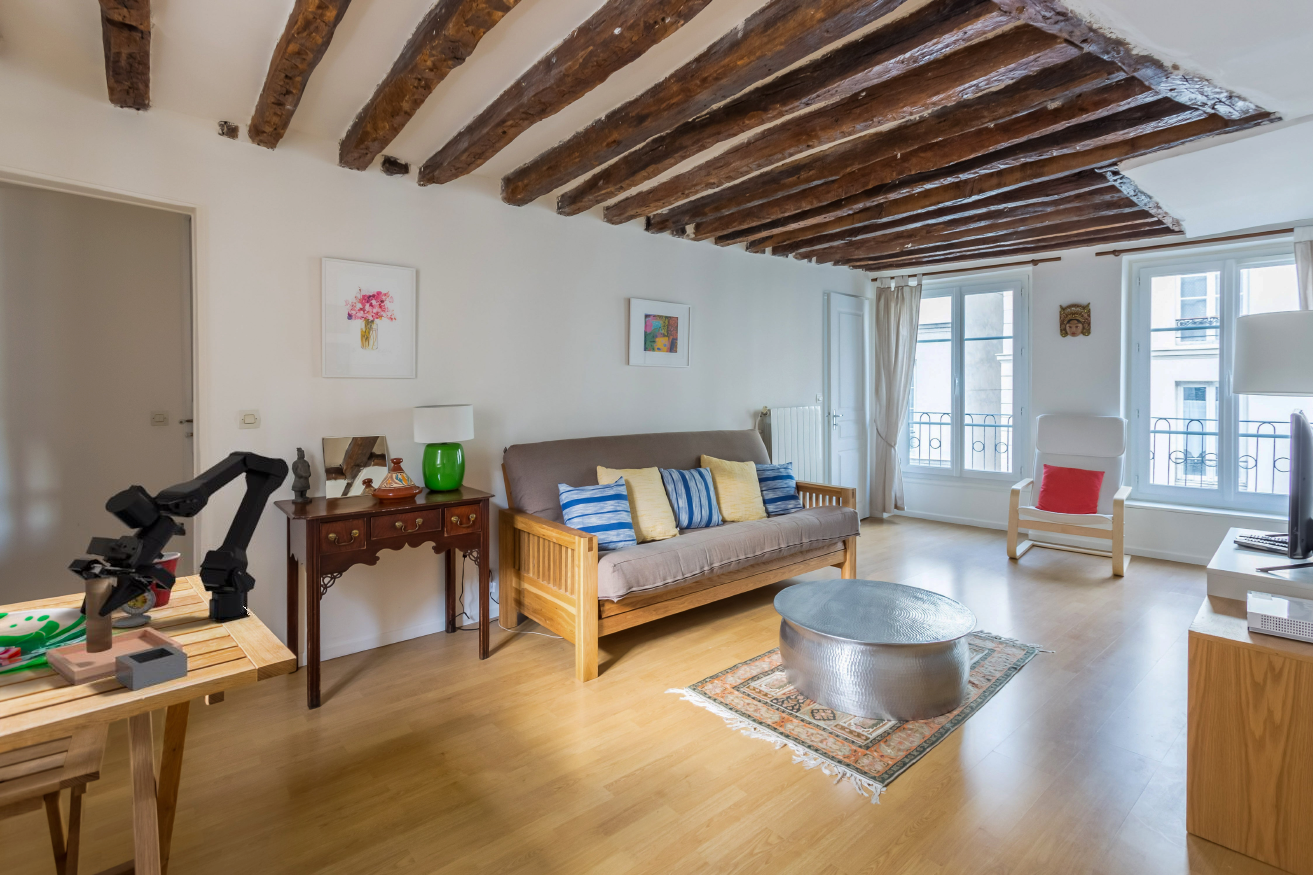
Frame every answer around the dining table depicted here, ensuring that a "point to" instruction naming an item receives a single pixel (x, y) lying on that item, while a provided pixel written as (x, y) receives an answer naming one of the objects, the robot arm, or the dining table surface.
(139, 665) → the socket
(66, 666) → the tray
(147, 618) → the pocket watch
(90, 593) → the dowel
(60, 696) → the dining table surface
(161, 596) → the plastic cup
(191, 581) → the dining table surface
